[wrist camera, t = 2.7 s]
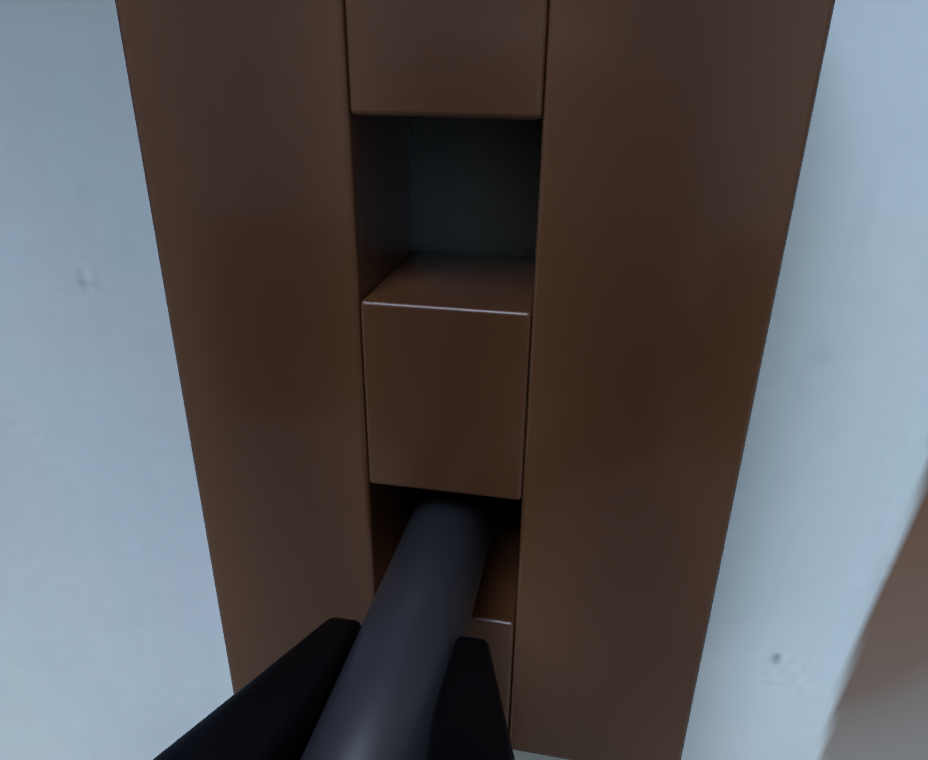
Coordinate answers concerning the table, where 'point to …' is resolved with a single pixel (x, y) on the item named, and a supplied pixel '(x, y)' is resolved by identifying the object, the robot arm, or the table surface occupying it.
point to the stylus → (409, 634)
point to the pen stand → (478, 318)
